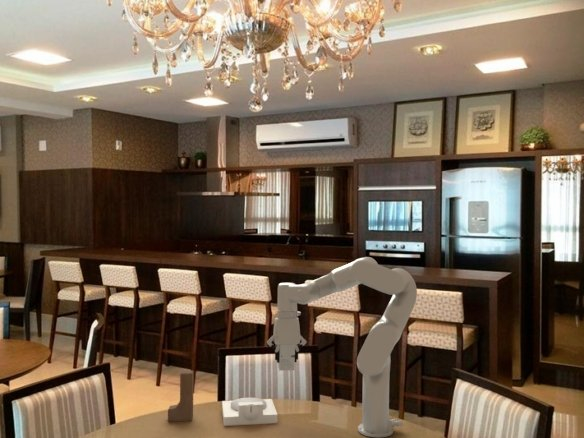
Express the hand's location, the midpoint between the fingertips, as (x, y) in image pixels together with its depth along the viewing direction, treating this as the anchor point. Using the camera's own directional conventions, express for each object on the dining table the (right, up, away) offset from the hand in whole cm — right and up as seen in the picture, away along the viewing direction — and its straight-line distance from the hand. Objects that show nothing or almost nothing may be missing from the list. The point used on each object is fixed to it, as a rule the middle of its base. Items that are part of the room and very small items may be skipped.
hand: (286, 361), depth 209 cm
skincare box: (0, -3, 0) cm, 3 cm away
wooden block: (-40, -22, -2) cm, 46 cm away
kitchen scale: (-15, -22, +2) cm, 26 cm away
